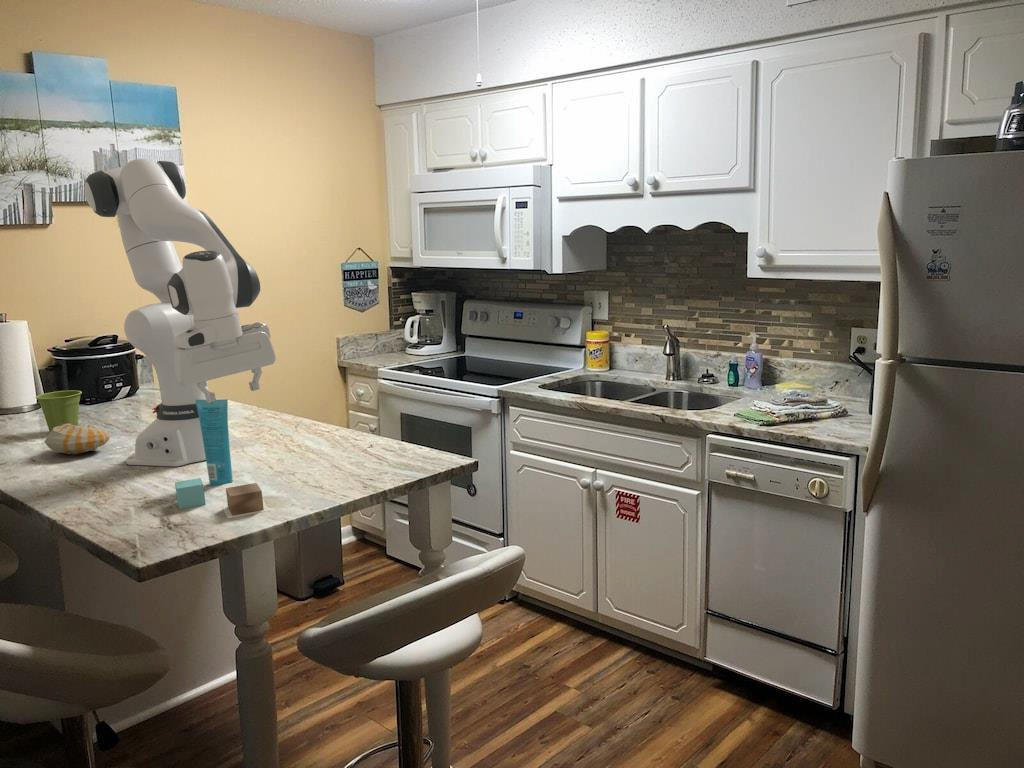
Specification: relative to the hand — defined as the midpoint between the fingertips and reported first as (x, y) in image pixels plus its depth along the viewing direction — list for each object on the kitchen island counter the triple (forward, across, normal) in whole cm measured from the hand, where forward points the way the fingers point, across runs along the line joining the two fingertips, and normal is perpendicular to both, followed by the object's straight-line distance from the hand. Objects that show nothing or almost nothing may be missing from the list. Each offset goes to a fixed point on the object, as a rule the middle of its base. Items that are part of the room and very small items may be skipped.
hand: (233, 395), depth 174 cm
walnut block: (+21, +6, +10) cm, 24 cm away
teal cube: (+20, +13, -1) cm, 24 cm away
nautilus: (+18, +20, -71) cm, 76 cm away
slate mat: (+21, +6, +10) cm, 25 cm away
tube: (+21, +3, -12) cm, 25 cm away
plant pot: (+17, +18, -98) cm, 101 cm away
